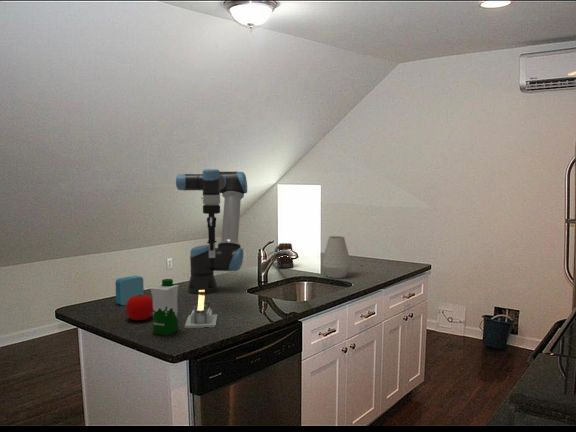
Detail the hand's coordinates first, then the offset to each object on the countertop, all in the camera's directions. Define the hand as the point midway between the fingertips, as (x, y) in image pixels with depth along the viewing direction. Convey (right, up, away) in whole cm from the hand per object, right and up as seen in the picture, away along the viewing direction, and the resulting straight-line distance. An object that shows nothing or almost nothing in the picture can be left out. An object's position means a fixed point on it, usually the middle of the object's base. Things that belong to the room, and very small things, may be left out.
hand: (212, 257), depth 217 cm
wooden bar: (-2, -17, -17) cm, 24 cm away
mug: (+31, -15, +93) cm, 99 cm away
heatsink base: (-2, -25, -16) cm, 30 cm away
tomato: (-28, -25, -12) cm, 40 cm away
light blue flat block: (-41, -23, +13) cm, 48 cm away
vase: (+62, -17, +68) cm, 94 cm away
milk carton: (-14, -27, -28) cm, 41 cm away
